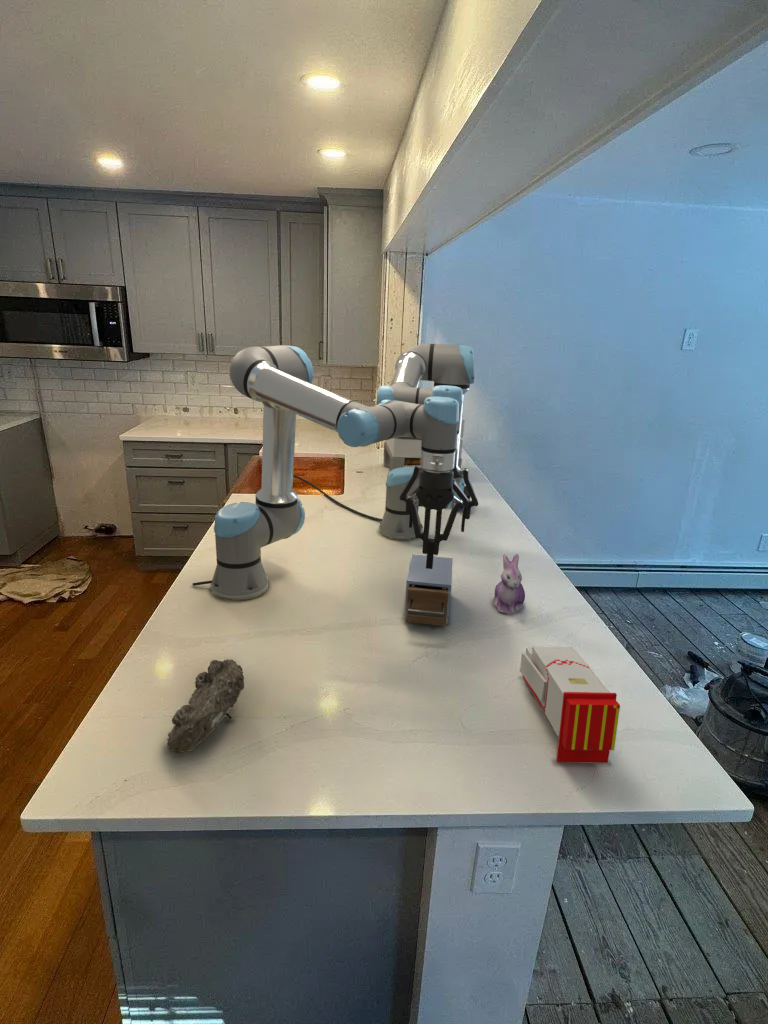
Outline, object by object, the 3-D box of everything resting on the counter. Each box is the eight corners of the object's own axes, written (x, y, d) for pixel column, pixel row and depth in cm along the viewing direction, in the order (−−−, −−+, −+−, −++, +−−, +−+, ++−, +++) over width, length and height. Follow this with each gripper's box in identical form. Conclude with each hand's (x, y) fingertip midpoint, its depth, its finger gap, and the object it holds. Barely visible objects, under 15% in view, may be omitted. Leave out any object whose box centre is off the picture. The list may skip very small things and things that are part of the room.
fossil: (192, 660, 117) (244, 628, 112) (224, 691, 120) (276, 661, 115) (142, 746, 98) (202, 712, 93) (182, 779, 101) (242, 748, 96)
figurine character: (470, 516, 223) (465, 500, 237) (473, 499, 220) (467, 484, 233) (453, 516, 223) (449, 500, 236) (455, 498, 220) (451, 483, 233)
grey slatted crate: (382, 463, 289) (386, 382, 275) (445, 464, 293) (451, 384, 279) (390, 482, 257) (394, 392, 243) (460, 483, 261) (468, 394, 247)
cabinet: (447, 624, 144) (451, 585, 140) (404, 619, 145) (406, 580, 141) (449, 594, 159) (452, 558, 155) (409, 590, 160) (412, 554, 157)
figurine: (507, 618, 147) (514, 566, 142) (483, 600, 156) (489, 550, 151) (534, 611, 152) (542, 560, 146) (510, 594, 160) (516, 545, 155)
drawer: (444, 639, 135) (447, 605, 132) (403, 635, 136) (405, 601, 133) (447, 597, 155) (450, 566, 152) (410, 593, 156) (412, 563, 153)
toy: (568, 628, 125) (630, 701, 96) (562, 684, 128) (620, 770, 99) (514, 627, 125) (559, 699, 96) (509, 683, 128) (551, 770, 98)
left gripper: (405, 471, 122) (400, 570, 130) (466, 475, 120) (457, 576, 128) (408, 462, 129) (403, 557, 137) (466, 466, 127) (457, 562, 135)
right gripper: (391, 448, 140) (387, 529, 147) (494, 456, 137) (485, 537, 144) (394, 442, 147) (391, 519, 154) (492, 449, 144) (483, 526, 151)
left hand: (429, 566), depth 133 cm, fingers closed
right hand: (436, 528), depth 149 cm, fingers open, 13 cm apart
